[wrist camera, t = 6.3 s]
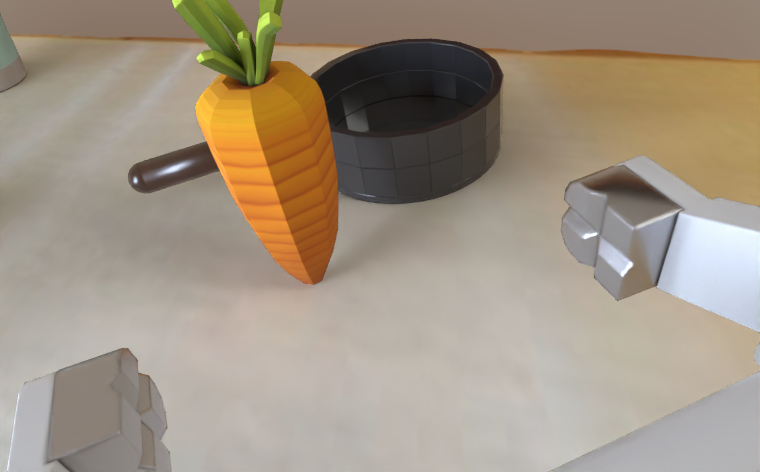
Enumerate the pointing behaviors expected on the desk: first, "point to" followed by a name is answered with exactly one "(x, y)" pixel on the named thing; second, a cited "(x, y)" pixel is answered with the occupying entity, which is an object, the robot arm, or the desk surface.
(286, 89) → the carrot
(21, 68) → the coffee cup
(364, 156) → the pan
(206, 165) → the pan handle
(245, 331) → the desk surface
